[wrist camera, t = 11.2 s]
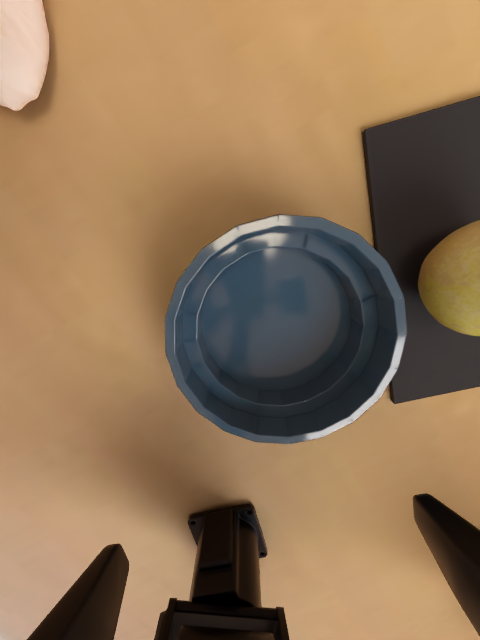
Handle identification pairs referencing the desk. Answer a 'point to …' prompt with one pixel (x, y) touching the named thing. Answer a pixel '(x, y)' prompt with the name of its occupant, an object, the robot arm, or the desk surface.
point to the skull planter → (22, 51)
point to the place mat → (425, 232)
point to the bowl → (285, 329)
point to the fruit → (454, 280)
